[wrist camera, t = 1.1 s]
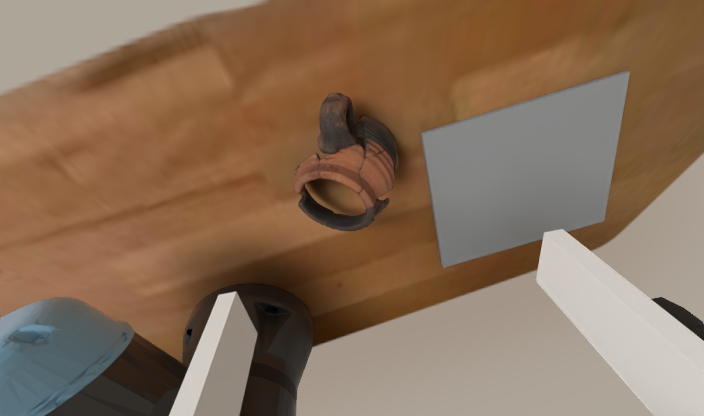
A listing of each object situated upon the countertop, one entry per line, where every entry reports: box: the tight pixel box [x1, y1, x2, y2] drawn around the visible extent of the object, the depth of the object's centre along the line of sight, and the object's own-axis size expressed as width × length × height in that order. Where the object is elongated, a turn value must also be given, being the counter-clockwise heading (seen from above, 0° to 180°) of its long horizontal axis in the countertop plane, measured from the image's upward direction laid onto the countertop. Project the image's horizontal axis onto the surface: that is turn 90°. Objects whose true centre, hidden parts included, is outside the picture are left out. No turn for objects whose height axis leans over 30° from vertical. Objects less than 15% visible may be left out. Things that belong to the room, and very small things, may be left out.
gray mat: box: [421, 71, 630, 268], centre depth 33 cm, size 20×17×1 cm
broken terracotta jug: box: [293, 93, 398, 231], centre depth 27 cm, size 12×10×8 cm
